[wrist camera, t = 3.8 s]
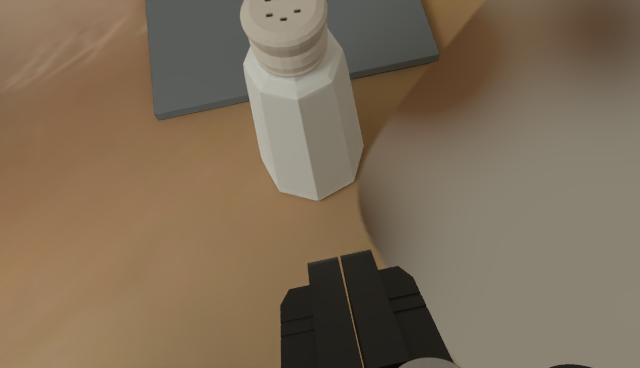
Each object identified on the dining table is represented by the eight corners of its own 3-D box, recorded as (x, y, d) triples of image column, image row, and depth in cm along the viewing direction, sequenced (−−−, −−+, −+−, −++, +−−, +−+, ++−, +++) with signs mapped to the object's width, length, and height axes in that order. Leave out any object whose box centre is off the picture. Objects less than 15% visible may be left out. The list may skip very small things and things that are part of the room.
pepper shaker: (371, 195, 24) (382, 64, 14) (265, 209, 24) (198, 90, 14) (356, 103, 26) (356, -70, 16) (258, 116, 26) (195, -47, 16)
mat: (438, 60, 26) (439, 54, 26) (158, 120, 26) (154, 114, 26) (385, -88, 31) (385, -97, 30) (145, -38, 31) (141, -45, 30)
